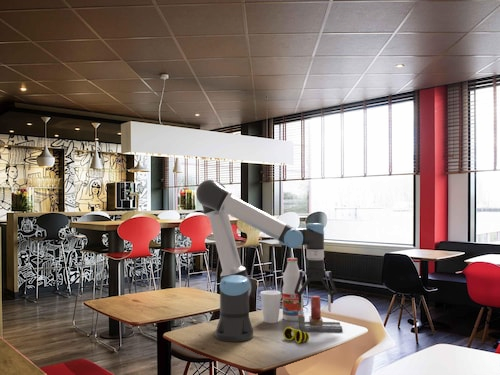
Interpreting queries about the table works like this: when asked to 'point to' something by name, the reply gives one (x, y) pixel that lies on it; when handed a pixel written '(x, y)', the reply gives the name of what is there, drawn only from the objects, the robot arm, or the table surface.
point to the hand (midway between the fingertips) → (315, 310)
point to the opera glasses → (295, 335)
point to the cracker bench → (326, 326)
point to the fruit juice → (291, 291)
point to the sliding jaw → (315, 311)
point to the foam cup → (270, 305)
